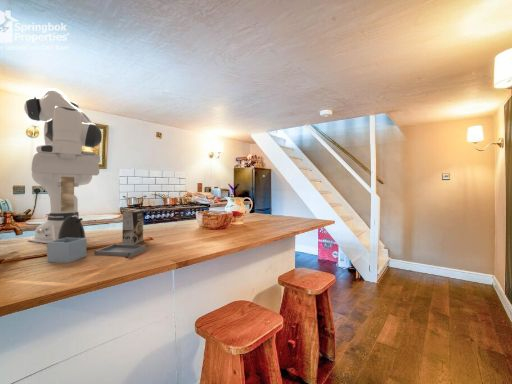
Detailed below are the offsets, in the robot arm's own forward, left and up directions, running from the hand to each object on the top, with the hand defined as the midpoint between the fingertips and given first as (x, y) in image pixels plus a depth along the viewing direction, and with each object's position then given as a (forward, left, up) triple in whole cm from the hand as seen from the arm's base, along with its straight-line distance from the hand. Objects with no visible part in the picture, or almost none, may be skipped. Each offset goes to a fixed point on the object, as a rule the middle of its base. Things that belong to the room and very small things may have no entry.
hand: (67, 186), depth 93 cm
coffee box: (+7, +31, -29) cm, 43 cm away
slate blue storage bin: (0, 0, -29) cm, 29 cm away
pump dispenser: (-11, +14, -29) cm, 34 cm away
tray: (+13, +13, -29) cm, 34 cm away
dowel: (0, 0, -9) cm, 9 cm away
